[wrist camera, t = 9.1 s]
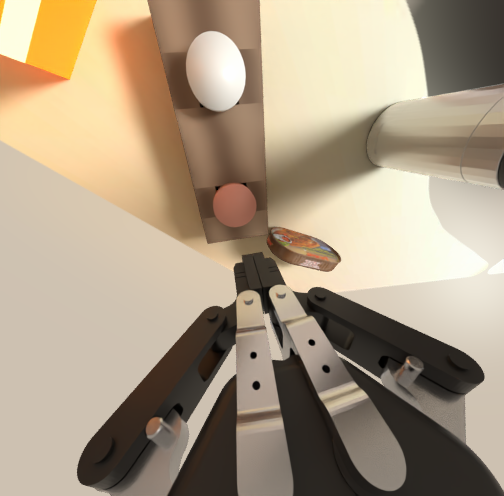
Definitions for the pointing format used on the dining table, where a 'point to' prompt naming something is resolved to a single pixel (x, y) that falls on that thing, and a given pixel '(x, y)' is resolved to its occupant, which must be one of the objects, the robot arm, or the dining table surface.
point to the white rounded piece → (215, 71)
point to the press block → (217, 123)
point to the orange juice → (44, 32)
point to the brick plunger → (234, 204)
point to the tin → (302, 250)
